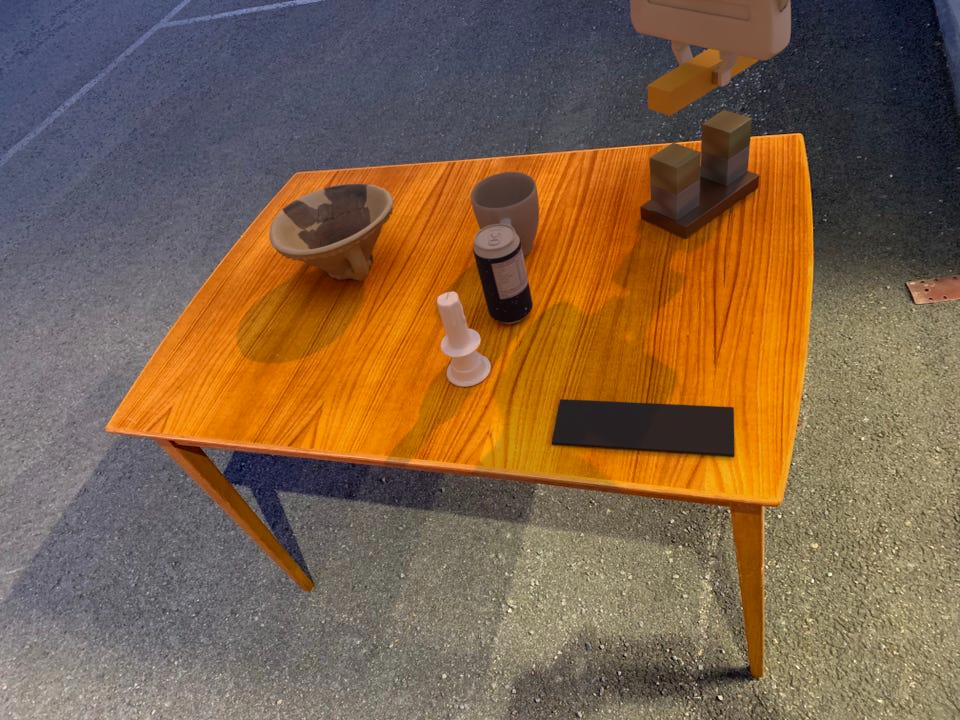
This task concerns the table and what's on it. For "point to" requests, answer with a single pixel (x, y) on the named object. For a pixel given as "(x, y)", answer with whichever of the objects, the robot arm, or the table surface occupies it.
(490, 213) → the mug
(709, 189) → the tower
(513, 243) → the beverage can
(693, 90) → the bar
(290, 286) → the table surface
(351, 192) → the bowl
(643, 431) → the mat
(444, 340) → the candle
